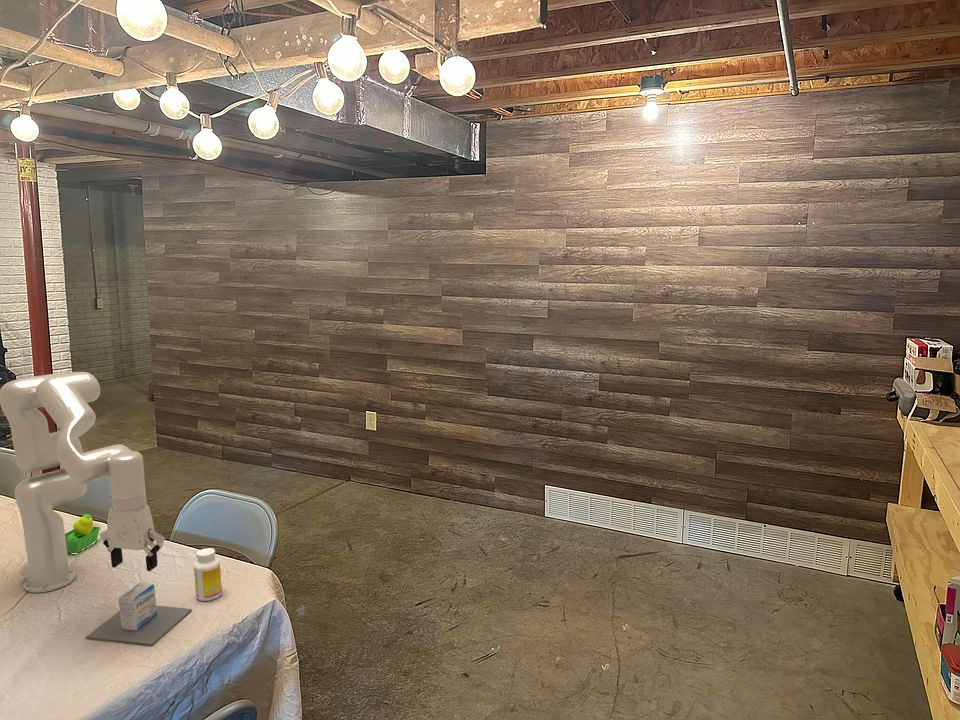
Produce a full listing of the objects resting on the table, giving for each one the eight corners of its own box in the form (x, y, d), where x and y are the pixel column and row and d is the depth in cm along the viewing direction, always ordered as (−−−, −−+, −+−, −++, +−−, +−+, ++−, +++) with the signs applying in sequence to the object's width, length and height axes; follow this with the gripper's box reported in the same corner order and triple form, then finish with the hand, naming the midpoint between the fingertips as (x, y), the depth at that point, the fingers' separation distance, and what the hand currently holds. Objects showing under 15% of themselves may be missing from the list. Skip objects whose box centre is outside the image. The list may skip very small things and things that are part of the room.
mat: (85, 638, 163) (85, 636, 163) (130, 604, 178) (130, 602, 178) (152, 646, 160) (151, 644, 160) (191, 611, 175) (191, 608, 175)
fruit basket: (81, 539, 219) (78, 507, 217) (106, 541, 217) (103, 508, 216) (55, 555, 207) (51, 521, 206) (81, 557, 206) (77, 522, 204)
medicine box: (137, 631, 165) (134, 599, 163) (121, 629, 166) (117, 597, 164) (157, 614, 173) (154, 583, 171) (142, 612, 173) (139, 581, 172)
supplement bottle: (227, 591, 185) (224, 548, 183) (210, 603, 179) (207, 558, 177) (207, 587, 187) (204, 544, 185) (190, 599, 181) (187, 555, 179)
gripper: (86, 505, 162) (93, 570, 165) (150, 510, 159) (156, 577, 162) (108, 493, 169) (114, 556, 172) (170, 498, 166) (175, 563, 169)
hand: (134, 566), depth 167 cm, fingers open, 9 cm apart
